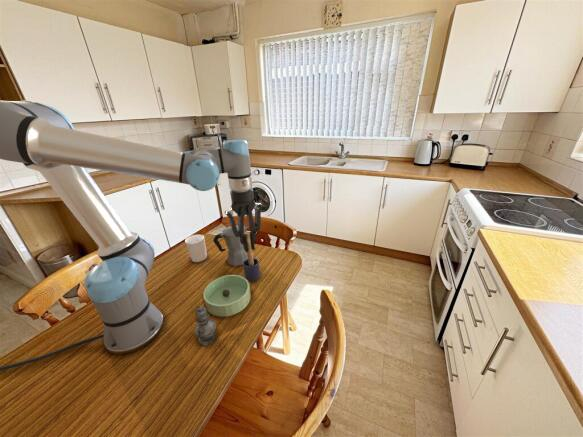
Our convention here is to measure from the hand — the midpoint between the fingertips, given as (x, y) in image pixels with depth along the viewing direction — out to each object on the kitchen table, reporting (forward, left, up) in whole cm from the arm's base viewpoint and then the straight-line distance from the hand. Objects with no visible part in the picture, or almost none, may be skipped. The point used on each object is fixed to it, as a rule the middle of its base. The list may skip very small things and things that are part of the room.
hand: (249, 249), depth 89 cm
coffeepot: (-2, +14, -13) cm, 19 cm away
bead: (-12, -5, -11) cm, 17 cm away
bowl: (-12, -7, -13) cm, 19 cm away
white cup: (-15, +26, -13) cm, 33 cm away
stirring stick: (0, 0, -9) cm, 9 cm away
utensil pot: (0, 0, -13) cm, 13 cm away
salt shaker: (-22, -18, -13) cm, 31 cm away
